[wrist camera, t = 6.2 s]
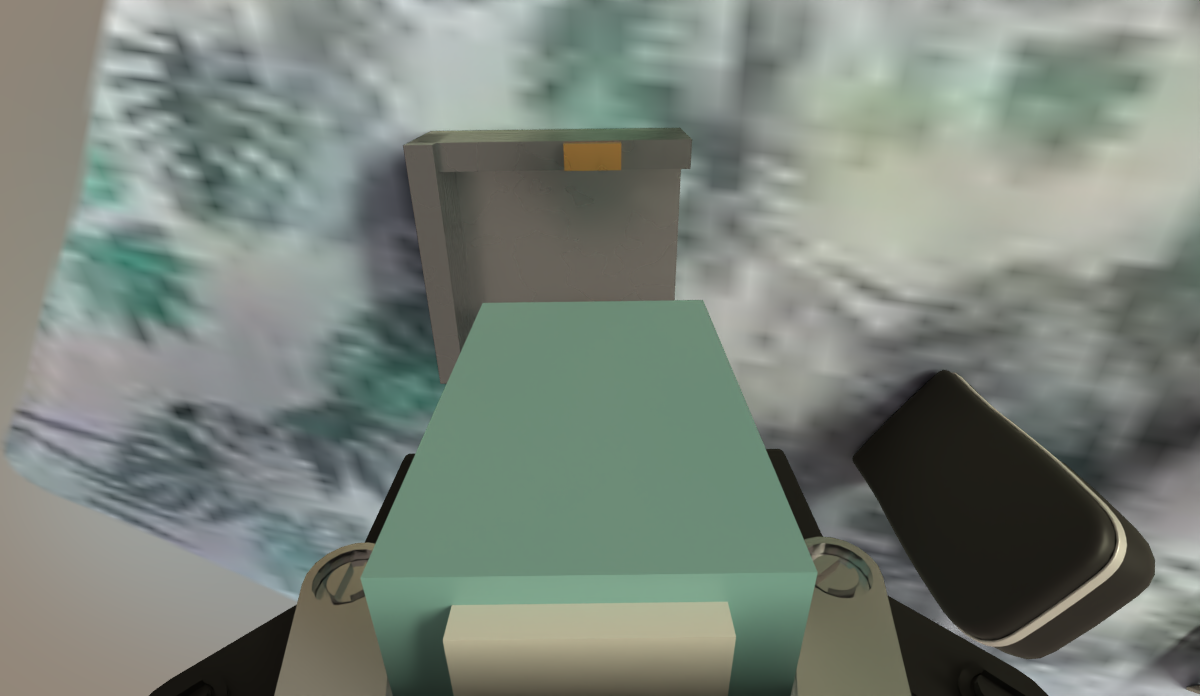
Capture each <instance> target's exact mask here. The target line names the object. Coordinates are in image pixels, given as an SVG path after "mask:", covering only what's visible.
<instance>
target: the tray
mask: <svg viewBox="0 0 1200 696" xmlns="http://www.w3.org/2000/svg"><path fill="white" fill-rule="evenodd" d="M403 148H404V154H405V160H406V167H407V173H408V180H409V186H410V192H411V199H412V205H413V211H414V218H415V224H416V230H417V237H418V243H419V249H420V256H421V262H422V268H423V275H424V281H425V288H426V294H427V300H428V307H429V313H430V319H431V326H432V332H433V338H434V345H435V351H436V357H437V364H438V370H439V376H440V383H441V384H447V382H448V380H449V377H450V375H451V373H452V371H453V368H454V366H455V364H456V362H457V359H458V357H459V355H460V353H461V350H462V348H463V346H464V344H465V341H466V339H467V337H468V335H469V332H470V330H471V328H472V326H473V323H474V321H475V319H476V317H477V314H478V312H479V310H480V308H481V305H482V303H517V302H596V301H674V297H675V276H676V256H677V236H678V216H679V195H680V175H681V169H690V166H691V149H692V139H691V138H690V137H689V136H688V135H687V134H686V133H685V132H684V131H683V130H682V129H681V128H623V129H548V130H473V131H430V132H428V133H426V134H424V135H422V136H420V137H418V138H416V139H414V140H412V141H411V142H409V143H407V144H405V145H403Z"/></svg>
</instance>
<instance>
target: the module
mask: <svg viewBox="0 0 1200 696" xmlns="http://www.w3.org/2000/svg"><path fill="white" fill-rule="evenodd" d="M817 573H818V572H817V570H816V567H815V565H814V563H813V560H812V558H811V555H810V553H809V551H808V548H807V546H806V544H805V541H804V539H803V536H802V534H801V532H800V529H799V527H798V525H797V522H796V520H795V517H794V515H793V513H792V510H791V508H790V506H789V503H788V501H787V498H786V496H785V494H784V491H783V489H782V487H781V484H780V482H779V480H778V477H777V475H776V472H775V470H774V468H773V465H772V463H771V461H770V458H769V456H768V453H767V451H766V449H765V446H764V444H763V442H762V439H761V437H760V434H759V432H758V430H757V427H756V425H755V423H754V420H753V418H752V416H751V413H750V411H749V408H748V406H747V404H746V401H745V399H744V397H743V394H742V392H741V389H740V387H739V385H738V382H737V380H736V378H735V375H734V373H733V370H732V368H731V366H730V363H729V361H728V359H727V356H726V354H725V351H724V349H723V347H722V344H721V342H720V340H719V337H718V335H717V333H716V330H715V328H714V325H713V323H712V321H711V318H710V316H709V314H708V311H707V309H706V306H705V304H704V302H703V300H675V301H596V302H517V303H482V305H481V308H480V310H479V312H478V314H477V317H476V319H475V321H474V323H473V326H472V328H471V330H470V332H469V335H468V337H467V339H466V341H465V344H464V346H463V348H462V350H461V353H460V355H459V357H458V359H457V362H456V364H455V366H454V368H453V371H452V373H451V375H450V377H449V380H448V382H447V384H446V386H445V389H444V391H443V393H442V395H441V398H440V400H439V402H438V404H437V407H436V409H435V411H434V413H433V416H432V418H431V420H430V422H429V425H428V427H427V429H426V431H425V434H424V436H423V438H422V440H421V443H420V445H419V447H418V450H417V452H416V454H415V456H414V459H413V461H412V463H411V465H410V468H409V470H408V472H407V474H406V477H405V479H404V481H403V483H402V486H401V488H400V490H399V492H398V495H397V497H396V499H395V501H394V504H393V506H392V508H391V510H390V513H389V515H388V517H387V519H386V522H385V524H384V526H383V528H382V531H381V533H380V535H379V537H378V540H377V542H376V544H375V546H374V549H373V551H372V553H371V555H370V558H369V560H368V562H367V564H366V567H365V569H364V571H363V573H362V576H361V578H360V579H361V582H362V586H363V590H364V593H365V597H366V600H367V604H368V608H369V611H370V615H371V619H372V622H373V626H374V629H375V633H376V637H377V640H378V644H379V648H380V651H381V655H382V658H383V662H384V666H385V669H386V673H387V677H388V680H389V684H390V687H391V691H392V695H393V696H791V692H792V687H793V683H794V678H795V673H796V669H797V664H798V660H799V655H800V651H801V646H802V641H803V637H804V632H805V628H806V623H807V619H808V614H809V610H810V605H811V600H812V596H813V591H814V587H815V582H816V578H817Z"/></svg>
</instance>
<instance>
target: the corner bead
mask: <svg viewBox="0 0 1200 696" xmlns="http://www.w3.org/2000/svg"><path fill="white" fill-rule="evenodd" d="M1186 690H1189V691H1192V692H1195V693H1198V694H1200V685H1197V686H1189V687H1187V688H1186Z"/></svg>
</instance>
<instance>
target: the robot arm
mask: <svg viewBox="0 0 1200 696" xmlns="http://www.w3.org/2000/svg"><path fill="white" fill-rule="evenodd" d="M766 451H767V453H768V456H769V458H770V461H771V463H772V465H773V468H774V470H775V472H776V475H777V477H778V480H779V482H780V484H781V487H782V489H783V491H784V494H785V496H786V498H787V501H788V503H789V506H790V508H791V510H792V513H793V515H794V517H795V520H796V522H797V525H798V527H799V529H800V532H801V534H802V536H803V539H804V541H805V544H806V546H807V548H808V551H809V553H810V555H811V558H812V560H813V563H814V565H815V567H816V570H817V572H818V573H817V578H816V582H815V587H814V591H813V596H812V600H811V605H810V610H809V614H808V619H807V623H806V628H805V632H804V637H803V641H802V646H801V651H800V655H799V660H798V664H797V669H796V673H795V678H794V683H793V687H792V692H791V696H1048V695H1047V694H1046V693H1045V692H1044V691H1043V690H1042V689H1041V688H1040V687H1039V686H1038V685H1037V684H1036V683H1035V682H1034V681H1033V680H1032V679H1030V678H1029V677H1027V676H1026V675H1025V674H1023V673H1022V672H1020V671H1019V670H1017V669H1016V668H1014V667H1012V666H1011V665H1009V664H1007V663H1005V662H1004V661H1002V660H1000V659H998V658H997V657H995V656H993V655H991V654H989V653H988V652H986V651H984V650H982V649H981V648H979V647H977V646H975V645H974V644H972V643H970V642H968V641H967V640H965V639H963V638H961V637H960V636H958V635H956V634H954V633H953V632H951V631H949V630H947V629H946V628H944V627H942V626H940V625H938V624H937V623H935V622H933V621H931V620H930V619H928V618H926V617H924V616H923V615H921V614H919V613H917V612H916V611H914V610H912V609H910V608H909V607H907V606H905V605H903V604H902V603H900V602H898V601H896V600H895V599H893V598H891V597H889V596H887V592H886V587H885V583H884V579H883V576H882V574H881V571H880V569H879V567H878V565H877V564H876V563H875V562H874V561H873V559H872V558H871V557H870V556H869V555H868V554H866V553H865V552H864V551H862V550H861V549H860V548H858V547H856V546H854V545H852V544H850V543H848V542H846V541H843V540H839V539H835V538H832V537H823V536H822V534H821V532H820V530H819V528H818V526H817V523H816V521H815V519H814V517H813V515H812V513H811V510H810V508H809V506H808V504H807V502H806V499H805V497H804V495H803V493H802V491H801V489H800V486H799V484H798V482H797V480H796V478H795V476H794V473H793V471H792V469H791V467H790V465H789V463H788V460H787V458H786V456H785V454H784V453H783V451H782V450H780V449H766ZM414 456H415V454H408V455H406V456H405V458H404V460H403V461H402V464H401V466H400V468H399V470H398V472H397V474H396V477H395V479H394V481H393V483H392V485H391V487H390V489H389V492H388V494H387V496H386V498H385V500H384V502H383V504H382V507H381V509H380V511H379V513H378V515H377V517H376V520H375V522H374V524H373V526H372V528H371V530H370V532H369V535H368V537H367V539H366V541H365V543H355V544H351V545H347V546H344V547H341V548H339V549H337V550H335V551H333V552H331V553H329V554H327V555H326V556H324V557H323V558H322V559H320V560H319V561H318V562H316V563H315V565H314V566H313V567H312V568H311V569H310V570H309V572H308V573H307V574H306V577H305V579H304V581H303V583H302V586H301V590H300V594H299V598H298V602H297V605H296V606H294V607H292V608H290V609H288V610H287V611H285V612H283V613H282V614H280V615H278V616H277V617H275V618H273V619H272V620H270V621H268V622H267V623H265V624H263V625H261V626H260V627H258V628H256V629H255V630H253V631H251V632H249V633H248V634H246V635H244V636H243V637H241V638H239V639H238V640H236V641H234V642H233V643H231V644H229V645H227V646H226V647H224V648H222V649H221V650H219V651H217V652H216V653H214V654H212V655H211V656H209V657H207V658H205V659H204V660H202V661H200V662H199V663H197V664H196V665H194V666H192V667H190V668H189V669H187V670H185V671H184V672H182V673H180V674H179V675H177V676H175V677H173V678H172V679H170V680H169V681H167V682H166V683H164V684H163V685H162V686H160V687H159V688H157V689H156V690H155V691H153V692H152V693H151V694H150V695H149V696H393V695H392V691H391V687H390V684H389V680H388V677H387V673H386V669H385V666H384V662H383V658H382V655H381V651H380V648H379V644H378V640H377V637H376V633H375V629H374V626H373V622H372V619H371V615H370V611H369V608H368V604H367V600H366V597H365V593H364V590H363V586H362V582H361V579H360V578H361V576H362V573H363V571H364V569H365V567H366V564H367V562H368V560H369V558H370V555H371V553H372V551H373V549H374V546H375V544H376V542H377V540H378V537H379V535H380V533H381V531H382V528H383V526H384V524H385V522H386V519H387V517H388V515H389V513H390V510H391V508H392V506H393V504H394V501H395V499H396V497H397V495H398V492H399V490H400V488H401V486H402V483H403V481H404V479H405V477H406V474H407V472H408V470H409V468H410V465H411V463H412V461H413V459H414Z"/></svg>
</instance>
